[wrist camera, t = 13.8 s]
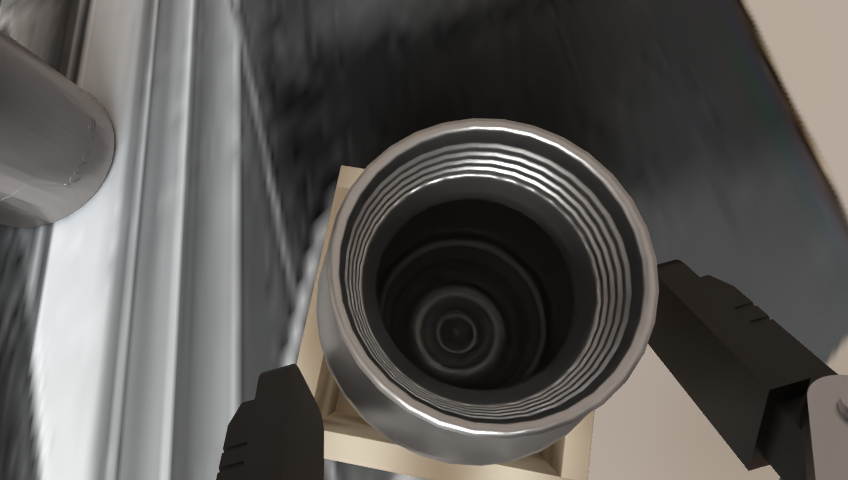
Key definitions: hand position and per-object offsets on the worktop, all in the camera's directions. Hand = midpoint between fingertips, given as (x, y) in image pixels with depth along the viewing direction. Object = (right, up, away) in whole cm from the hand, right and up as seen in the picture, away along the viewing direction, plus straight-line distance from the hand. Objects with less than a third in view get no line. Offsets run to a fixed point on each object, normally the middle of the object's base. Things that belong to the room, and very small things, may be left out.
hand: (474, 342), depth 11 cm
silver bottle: (0, -2, +14) cm, 14 cm away
